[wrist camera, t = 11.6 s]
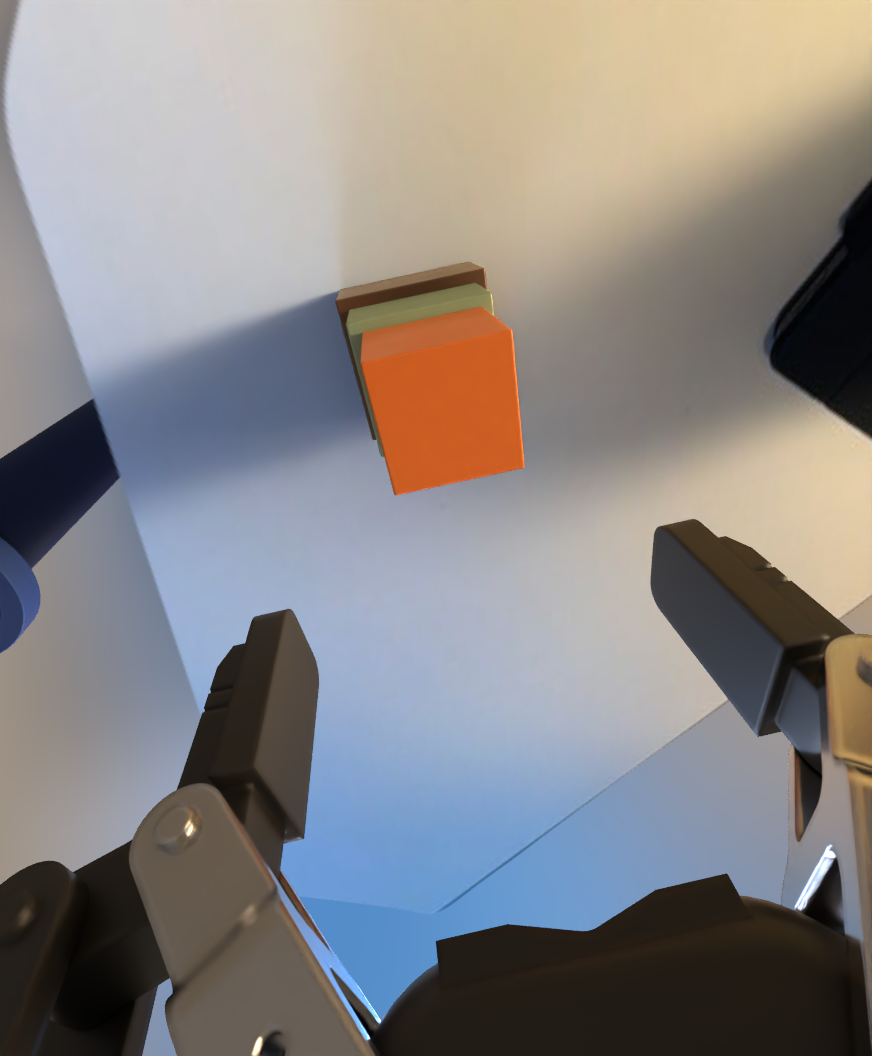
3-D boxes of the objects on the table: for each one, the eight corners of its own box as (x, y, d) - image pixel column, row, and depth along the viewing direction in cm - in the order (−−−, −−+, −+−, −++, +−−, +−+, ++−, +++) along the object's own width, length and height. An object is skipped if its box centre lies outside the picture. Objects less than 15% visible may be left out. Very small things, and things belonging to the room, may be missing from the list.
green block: (379, 430, 26) (381, 458, 23) (348, 309, 22) (345, 323, 19) (490, 406, 26) (506, 431, 23) (475, 282, 22) (491, 292, 19)
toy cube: (390, 444, 22) (394, 496, 18) (361, 332, 20) (359, 362, 15) (496, 421, 22) (525, 468, 18) (482, 305, 20) (512, 329, 15)
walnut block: (372, 415, 29) (372, 441, 26) (339, 289, 25) (334, 300, 22) (486, 391, 29) (501, 413, 26) (469, 261, 25) (485, 268, 22)
